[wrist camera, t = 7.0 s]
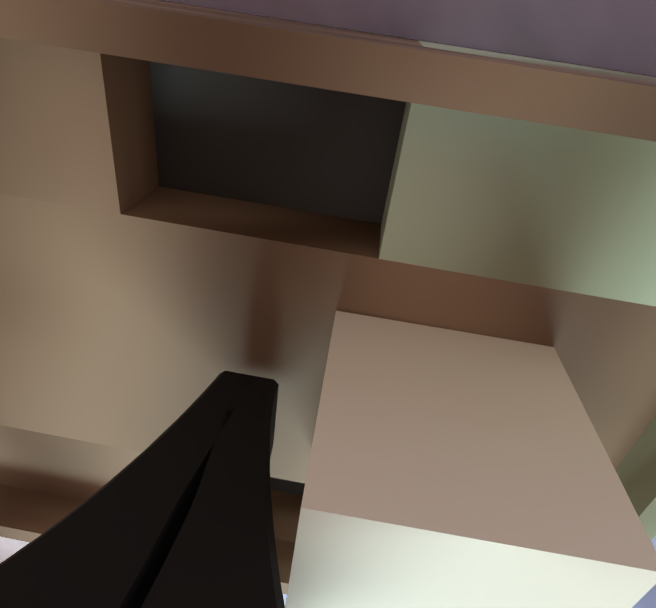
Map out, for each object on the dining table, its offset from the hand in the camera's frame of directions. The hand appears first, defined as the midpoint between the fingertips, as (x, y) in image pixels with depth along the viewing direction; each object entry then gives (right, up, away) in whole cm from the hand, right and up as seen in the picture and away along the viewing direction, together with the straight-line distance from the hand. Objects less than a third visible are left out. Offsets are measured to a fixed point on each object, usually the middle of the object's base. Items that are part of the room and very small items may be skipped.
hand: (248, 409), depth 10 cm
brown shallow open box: (+1, +2, +3) cm, 3 cm away
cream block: (+4, 0, +1) cm, 4 cm away
